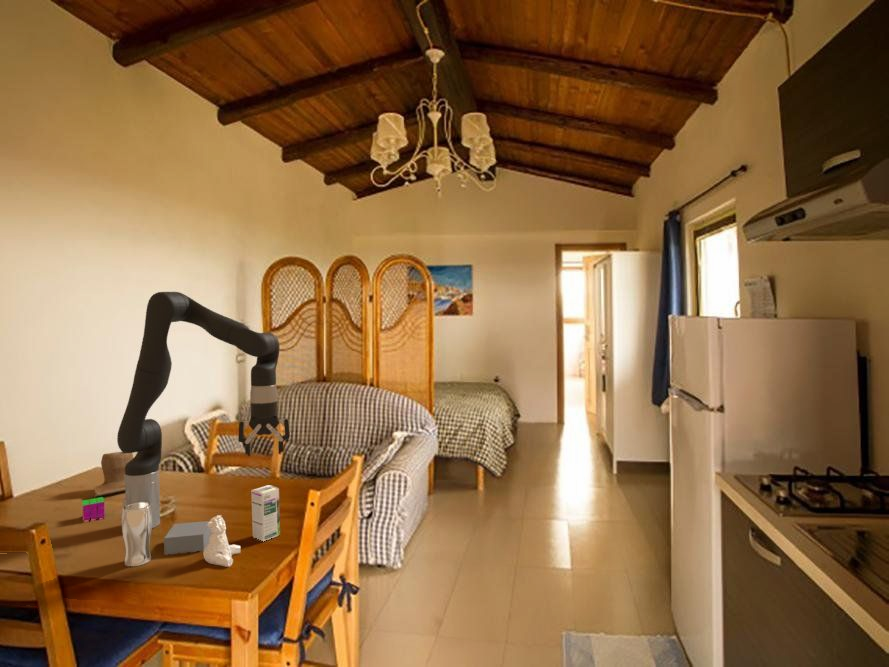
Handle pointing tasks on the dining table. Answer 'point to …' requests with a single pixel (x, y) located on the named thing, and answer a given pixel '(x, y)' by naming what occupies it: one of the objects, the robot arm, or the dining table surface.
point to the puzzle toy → (93, 508)
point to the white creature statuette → (219, 544)
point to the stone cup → (113, 473)
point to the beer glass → (137, 532)
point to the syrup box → (265, 512)
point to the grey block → (187, 538)
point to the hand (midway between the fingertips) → (264, 454)
